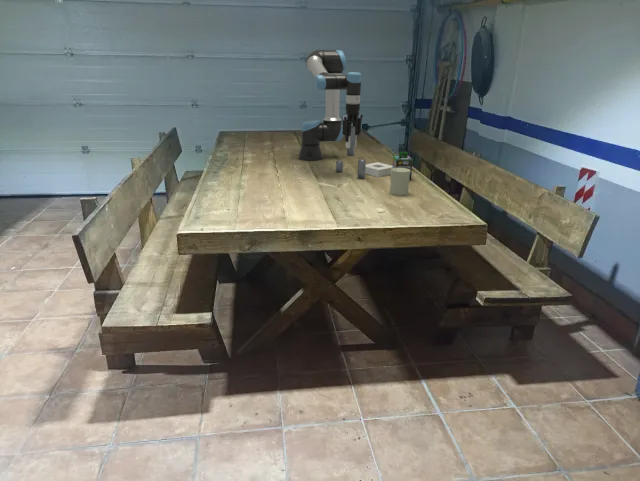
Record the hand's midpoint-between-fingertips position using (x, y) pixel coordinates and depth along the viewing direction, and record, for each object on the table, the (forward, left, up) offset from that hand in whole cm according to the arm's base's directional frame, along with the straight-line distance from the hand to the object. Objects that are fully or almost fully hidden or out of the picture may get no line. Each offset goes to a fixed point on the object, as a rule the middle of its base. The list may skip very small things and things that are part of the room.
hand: (350, 147), depth 266 cm
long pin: (0, 0, -5) cm, 5 cm away
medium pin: (+9, 0, -15) cm, 18 cm away
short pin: (-9, 0, -15) cm, 18 cm away
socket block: (+6, +16, -15) cm, 23 cm away
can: (+41, -5, -16) cm, 45 cm away
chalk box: (+22, +18, -16) cm, 33 cm away
